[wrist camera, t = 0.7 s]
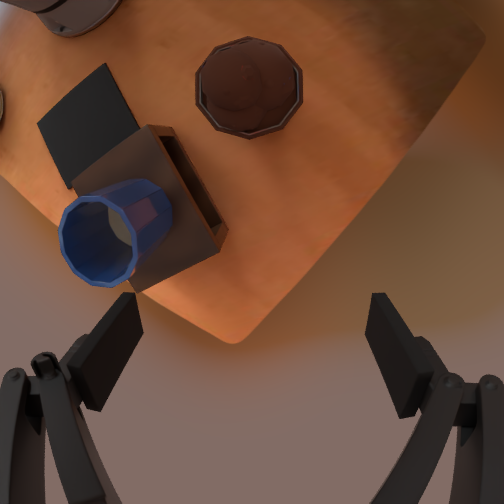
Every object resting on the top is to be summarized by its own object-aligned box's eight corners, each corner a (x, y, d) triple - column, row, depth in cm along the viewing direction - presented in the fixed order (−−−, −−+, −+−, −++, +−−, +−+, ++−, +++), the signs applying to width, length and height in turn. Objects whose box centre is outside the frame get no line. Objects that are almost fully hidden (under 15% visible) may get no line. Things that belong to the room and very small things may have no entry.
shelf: (104, 172, 40) (70, 182, 32) (171, 126, 38) (147, 124, 29) (159, 265, 45) (136, 293, 36) (229, 229, 42) (219, 252, 34)
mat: (38, 123, 38) (36, 123, 37) (105, 63, 35) (104, 62, 34) (69, 189, 41) (68, 189, 41) (142, 133, 38) (141, 133, 38)
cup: (96, 201, 33) (45, 225, 23) (149, 165, 31) (104, 177, 22) (130, 259, 35) (90, 299, 25) (185, 228, 33) (155, 264, 24)
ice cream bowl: (245, 156, 39) (233, 164, 25) (194, 91, 36) (155, 67, 22) (312, 109, 36) (337, 92, 22) (259, 45, 34) (255, -3, 20)
